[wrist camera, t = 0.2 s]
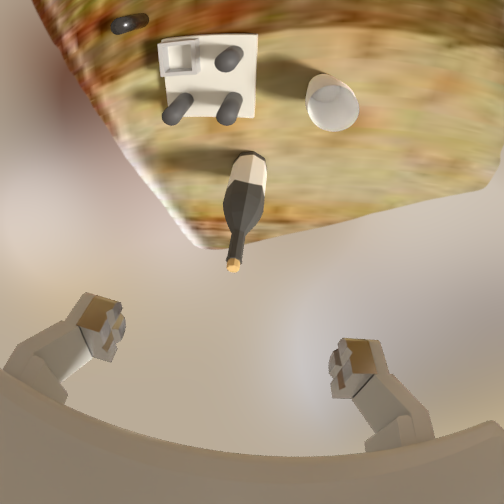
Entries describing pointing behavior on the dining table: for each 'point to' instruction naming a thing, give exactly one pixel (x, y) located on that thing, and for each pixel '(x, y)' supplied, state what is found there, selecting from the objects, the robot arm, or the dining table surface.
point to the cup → (331, 103)
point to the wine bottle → (244, 202)
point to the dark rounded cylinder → (129, 23)
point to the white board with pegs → (209, 76)
